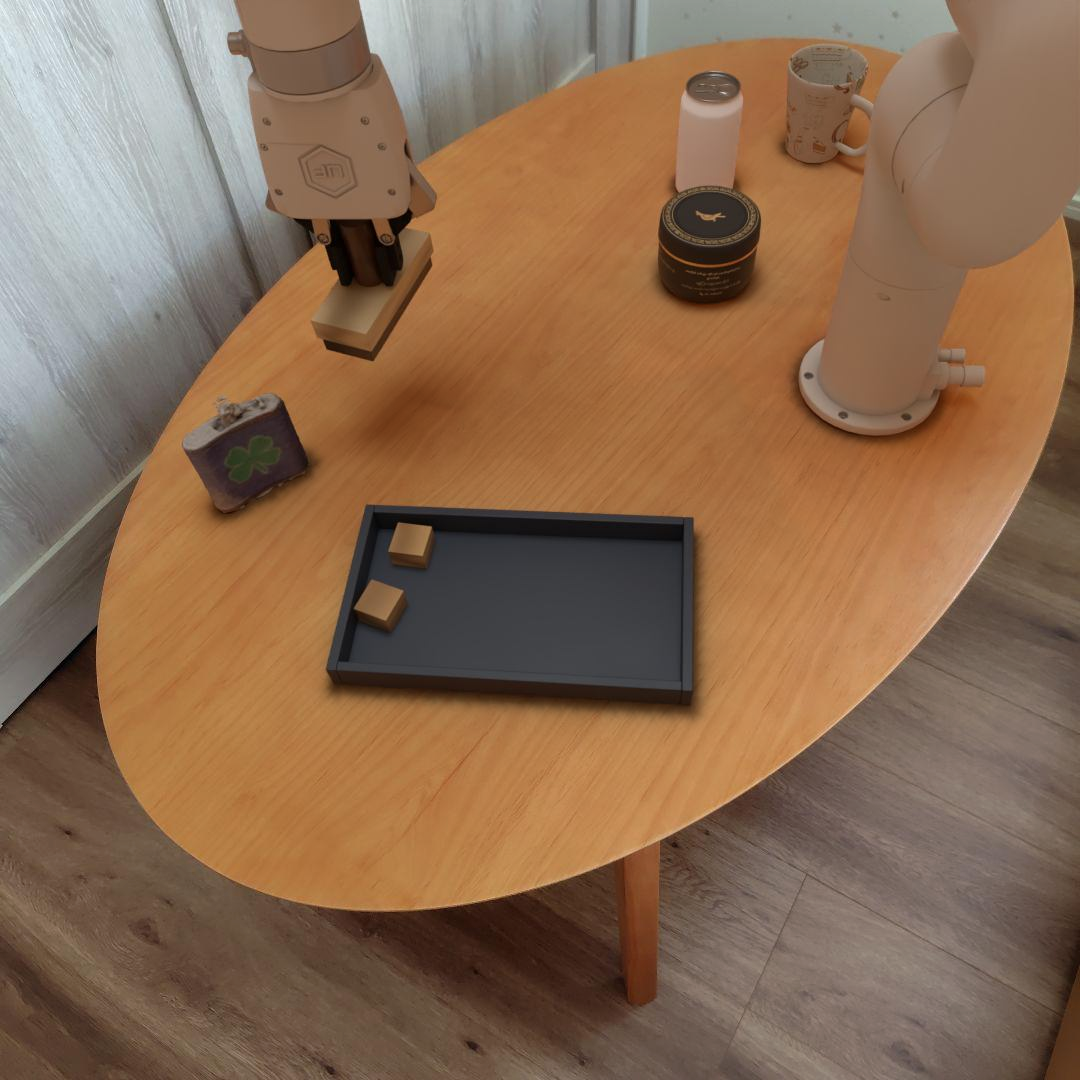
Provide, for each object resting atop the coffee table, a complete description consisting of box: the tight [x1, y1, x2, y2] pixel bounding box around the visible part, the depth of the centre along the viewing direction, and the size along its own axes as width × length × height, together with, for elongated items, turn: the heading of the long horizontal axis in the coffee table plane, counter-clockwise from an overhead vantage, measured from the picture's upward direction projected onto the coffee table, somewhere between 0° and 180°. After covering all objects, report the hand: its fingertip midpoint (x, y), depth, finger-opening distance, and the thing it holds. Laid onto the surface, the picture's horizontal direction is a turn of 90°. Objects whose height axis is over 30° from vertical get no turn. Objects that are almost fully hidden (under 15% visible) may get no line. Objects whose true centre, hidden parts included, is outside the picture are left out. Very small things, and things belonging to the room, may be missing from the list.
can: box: [675, 70, 744, 193], centre depth 101 cm, size 6×6×12 cm
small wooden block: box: [354, 579, 408, 632], centre depth 76 cm, size 3×3×2 cm
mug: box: [785, 43, 874, 164], centre depth 104 cm, size 8×13×10 cm, turn 43°
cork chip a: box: [388, 522, 435, 569], centre depth 79 cm, size 3×3×2 cm
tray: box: [325, 503, 695, 707], centre depth 76 cm, size 28×16×3 cm, turn 85°
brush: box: [310, 219, 435, 362], centre depth 75 cm, size 5×12×10 cm, turn 159°
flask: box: [181, 392, 311, 514], centre depth 82 cm, size 9×3×11 cm, turn 125°
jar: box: [657, 186, 762, 305], centre depth 95 cm, size 10×10×8 cm
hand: (370, 273), depth 76 cm, fingers closed on brush, 2 cm apart
